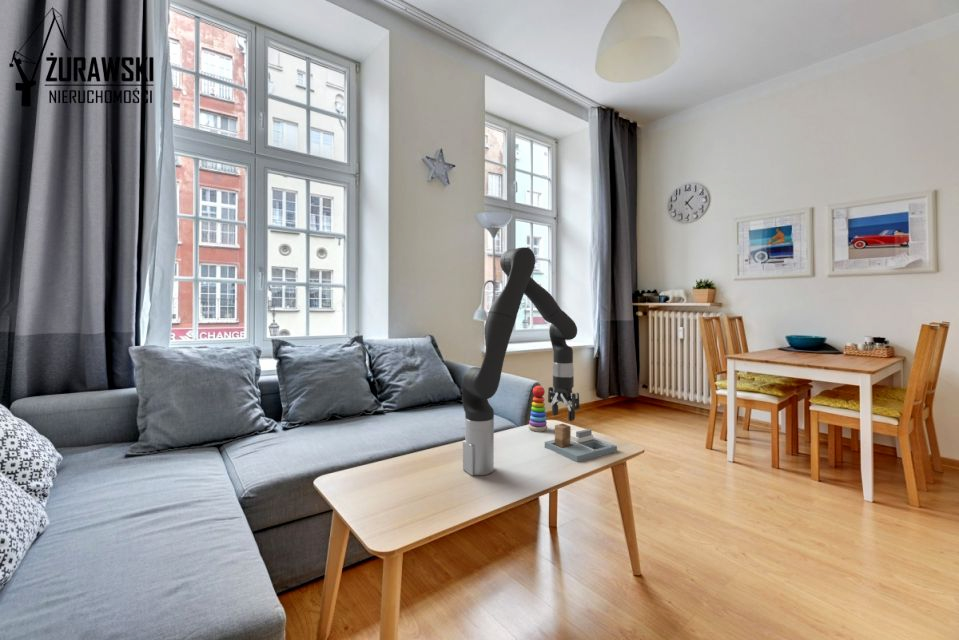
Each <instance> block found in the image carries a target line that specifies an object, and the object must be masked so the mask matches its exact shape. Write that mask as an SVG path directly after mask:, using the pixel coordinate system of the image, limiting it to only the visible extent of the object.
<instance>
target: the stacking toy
mask: <svg viewBox="0 0 959 640" xmlns="http://www.w3.org/2000/svg"><path fill="white" fill-rule="evenodd" d="M545 391H546V390H545V388H544V387H543V386H542V385H535V386H534V387H533V389H532V394H533V396H534V397H533V398H532V402H531V411H530V418H529V419H530V420H529V421H528V424H529V425H528V429H529V430H531V431H532V432H533V431H534V432H545V431H546V430H548V424H547V412H546V407H545V405H546V404H545V398H544V395H545V393H546V392H545Z"/></svg>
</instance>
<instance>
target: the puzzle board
mask: <svg viewBox="0 0 959 640" xmlns="http://www.w3.org/2000/svg"><path fill="white" fill-rule="evenodd" d="M591 447H592V448H591ZM544 448H545V449H548V450H550V451H552V452H554V453H556V454H559V455H561V456H563V457H565V458H567V459H569V460H572V461H574V462H577V463H579V462H583V461H586V460H590V459H593V458H597V457H601V456H604V455H607V454H608V455H609V454H612V453H615V452H617V451H618V446H617V445H615V444H613V443H611V442H607V441H605V440H602V439H599V438H597V437H594V436H593V440H589V441H585V442H581V443H577V442H574V441H572V440H570V446H569V447H565V448H560V447H558V446H556V445H555V439H551V440H547V441H544ZM593 448H595V449H593ZM597 448H598V449H597Z"/></svg>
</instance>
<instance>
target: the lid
mask: <svg viewBox="0 0 959 640" xmlns="http://www.w3.org/2000/svg"><path fill="white" fill-rule="evenodd" d="M593 437H594V434H592V429H589V428H587V429H582V430H580V429H574V430H573V429H572V430H571V435H570V440H572V441H574V442H577V443H581V442H585V441H589V440H593Z"/></svg>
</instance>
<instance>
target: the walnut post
mask: <svg viewBox="0 0 959 640" xmlns="http://www.w3.org/2000/svg"><path fill="white" fill-rule="evenodd" d="M571 427H572V426H571V425H567V424H565V423H561V424H560V423H559V424H555V425H554V440H555V445H556V446H558V447H560V448H565V447H569V446H570V435H571V431H572V430H571Z"/></svg>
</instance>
